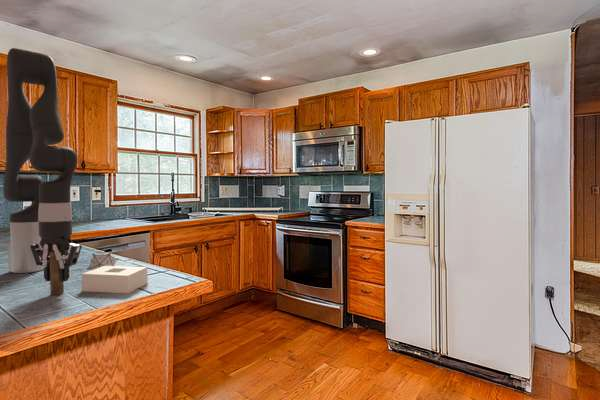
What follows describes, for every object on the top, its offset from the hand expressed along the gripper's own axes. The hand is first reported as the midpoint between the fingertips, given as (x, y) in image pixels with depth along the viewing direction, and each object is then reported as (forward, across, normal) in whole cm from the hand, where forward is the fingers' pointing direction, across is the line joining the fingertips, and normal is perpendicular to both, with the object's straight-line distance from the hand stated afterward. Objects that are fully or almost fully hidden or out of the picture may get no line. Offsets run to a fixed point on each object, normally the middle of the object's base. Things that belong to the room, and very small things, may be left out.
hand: (56, 280), depth 95 cm
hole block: (+4, +12, +8) cm, 15 cm away
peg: (+4, 0, 0) cm, 4 cm away
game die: (+4, 0, +19) cm, 19 cm away
